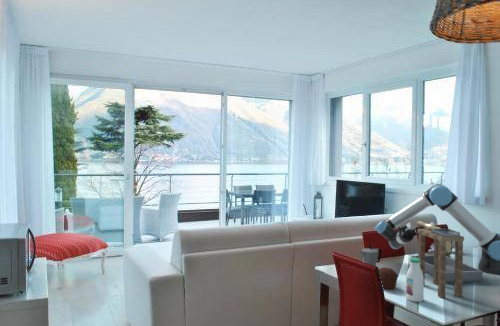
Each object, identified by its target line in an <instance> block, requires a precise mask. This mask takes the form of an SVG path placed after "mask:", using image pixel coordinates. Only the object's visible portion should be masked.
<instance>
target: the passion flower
mask: <svg viewBox="0 0 500 326" xmlns="http://www.w3.org/2000/svg"><path fill="white" fill-rule="evenodd" d="M429 247H430V249H427V252H429V253H430V252H432V254H431V255H434V242H433V243H430V246H429ZM446 256H447V257H450V253H448V251H447V248H446Z"/></svg>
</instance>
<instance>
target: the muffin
mask: <svg viewBox="0 0 500 326" xmlns="http://www.w3.org/2000/svg"><path fill="white" fill-rule="evenodd" d="M378 270H379V273H380V277H381V281H382V285H383V288H384V289H383V290H387V291H393V290H395V289H396V286H397V282H398V281H397V280H398V278H399V275H398V274H397V272H396V271H395V270H394V269H393V268H390V267H380V268H378Z"/></svg>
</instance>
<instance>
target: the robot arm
mask: <svg viewBox="0 0 500 326" xmlns="http://www.w3.org/2000/svg"><path fill="white" fill-rule="evenodd" d="M435 205H436V207H438V209H440V210H441V211H442V212H447V213H448V214H449V215H450V216H451V217H452V218H453V219H454V220H455V221H456V222H458V224H459V225H461V226H462V227H463V228H464V229H465V230H466V231H467V232H468V233H469V234H470V235H472V237H474V238H475V240H476V241H478V246H479V247H480V248H481V257H480V259H479V262H478V264H477V269H478V270H480V271H483V272H484V273H488V274H492V275H493V274H495V275H500V232H495V231H491V230H489V228H488V227H486V226H485V225H484V224H483V223H482V222H481V221H480V220H479V219H477V217H476V216H475V215H473V214H472V213H471V212H470V211H469V210H468V209H467V208H466V207H465V206H464V205H463V204H461V203H460V202H459V198H458V196H457V195H455V194H454V192H452V191H451V189H449V188H448V186H446V185H444V184H441V183H440V184H439V183H438V184H434V185H431V187H430V188H429V189H427V190H426V191H425V192H422V195H421V196H420V197H418V198H417V199H416V200H414V201H413V202H410V204H408V205H407V206H405V207H403V208H402V209H400V210H399V211H397V212H396V213H394V214H393V215H391V216H390V217H388V218H387V219H386V220H381V221H379V222H378V223H377V225H375V226H374V230H375V231H376V232H377V233H378V234H379V235H380V236H382V237H383V238H384V239H385V240H387V241H388V244H389V246H390V247H391V248H392V249H393V250H398V249H401V248H403V246H405V245H406V244H407V243H409V242H411V241H412V240H414V237H415V236H418V229H426V228H423V227H420V228H413V229H411V228H412V223H411V221H410V222H407V221H409V220H410V219H412V218H413V217H415V216H417V215H418V214H419V213H421V212H423V211H424V210H426V209H428V208H429V207H434V206H435ZM405 222H407V223H406V224H405V225H403V226H401V225H402V224H404V223H405ZM429 224H431V225H434V226H435V222H433V221H431V222H430V223H429ZM395 229H398V230H397V231H396V230H395Z"/></svg>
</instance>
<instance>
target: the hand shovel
mask: <svg viewBox="0 0 500 326" xmlns="http://www.w3.org/2000/svg"><path fill="white" fill-rule="evenodd" d="M416 225H417V226H418V227H420V228H426V229H429V230H431V233H433V234H436V235H439V236H442V237H460V236H461V232H460V231H456V230H452V229H450V228H442V227H440V226H437V225H435V224H434V225H431V224H430V223H427V222H424V221H421V220H418V221H416Z"/></svg>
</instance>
